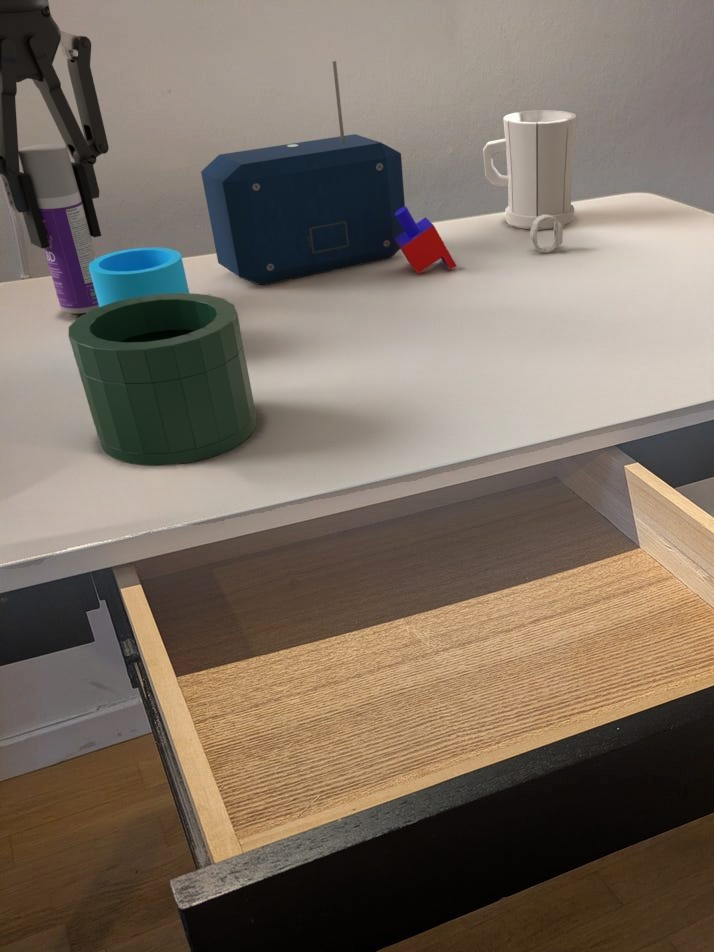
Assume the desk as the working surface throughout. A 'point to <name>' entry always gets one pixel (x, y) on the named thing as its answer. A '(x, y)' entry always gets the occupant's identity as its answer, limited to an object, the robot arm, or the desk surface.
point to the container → (62, 225)
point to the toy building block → (421, 242)
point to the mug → (137, 274)
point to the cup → (535, 166)
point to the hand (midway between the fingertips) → (66, 239)
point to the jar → (165, 377)
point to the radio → (305, 206)
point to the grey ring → (557, 233)
